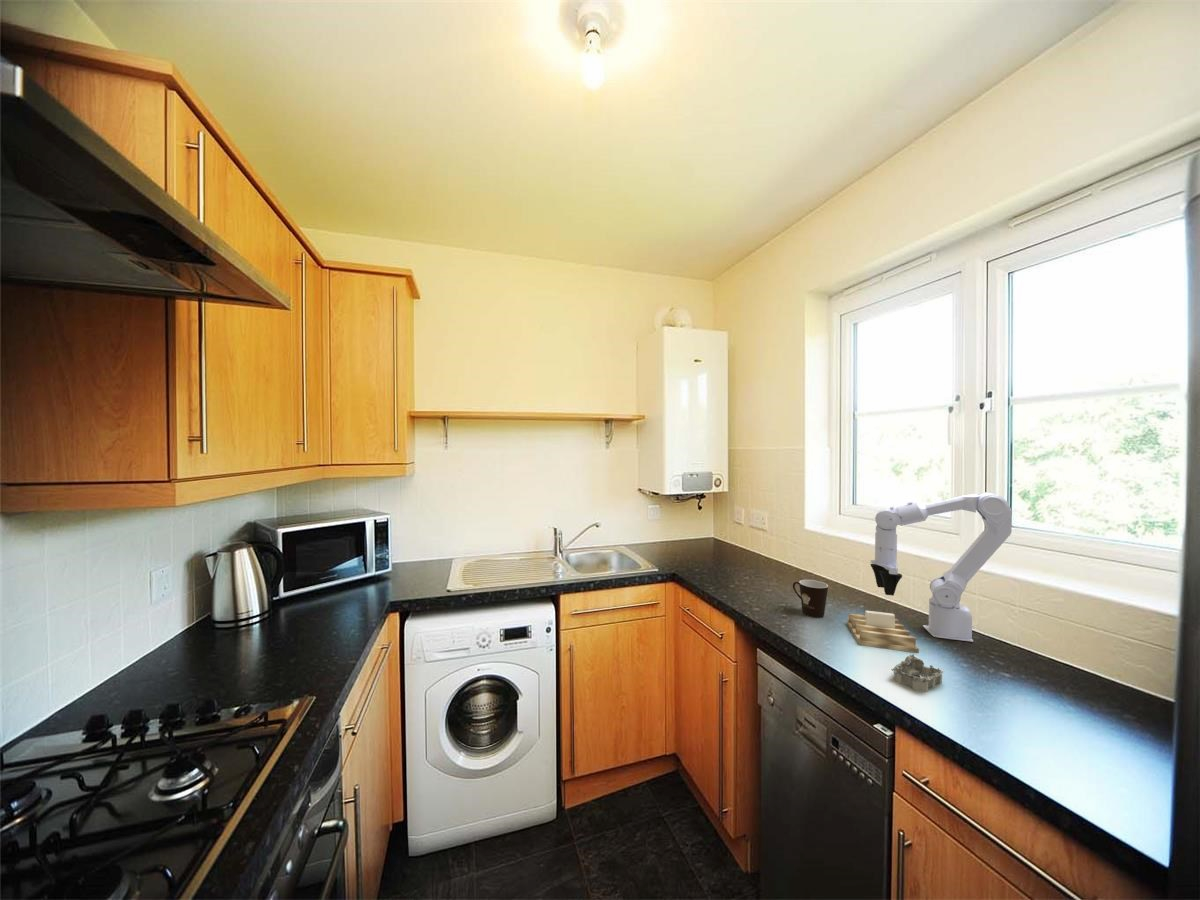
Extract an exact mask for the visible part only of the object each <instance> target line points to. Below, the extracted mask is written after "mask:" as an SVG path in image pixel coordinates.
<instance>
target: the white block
mask: <svg viewBox="0 0 1200 900" xmlns="http://www.w3.org/2000/svg"><path fill="white" fill-rule="evenodd" d="M864 612H865V614H864V615H865V625H868V626H876V627H884V628H892V629H895V619H896V615H895V614H894V613H892V612H891V613H890V612H882V611H873V610H872V611H871V610H865V611H864Z"/></svg>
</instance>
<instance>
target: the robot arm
mask: <svg viewBox="0 0 1200 900" xmlns="http://www.w3.org/2000/svg"><path fill="white" fill-rule="evenodd" d="M961 510H963V511H967V512H970V513H971V512H972V513H978V514H979V515H980V516H981V518H982V521H983V525H984V527H985V528H984V530H983V531H982V532H981V533H980V534H979V535H978V537H977V538H975V540H974V541H973V542H972V543H971V544H970V545H969V547H968V548H967V549H966V550H965V552H963V554H962V555H961V556H960V557H959V558H958V559H957V560H956V562H955V563H954V564H953V565H952V566H951V567H950V568H949V569H948V570H947V571H945V572H944V573H943V574H941V576H940V577H937V578H934V579H933V580H931V582H930V583H929V589H930V591H931V594H932V596H931V597H930V598H929V599H928V625H927V624H923V625H922V627H923V628H924V629H925V630H926V631H927V632H928V634H930V635H931V636H933V637H934V638H941V639H947V640H956V641H965V642H971V643H973V642H974V639H973V616H972V612H971V610H970V608H968V606H965V605H961V604H960V602H961V598H962V594H963V593H964V591H966V588H967V585H968V583H969V582H970V581H971V580H972V578H973V577H974V576H976V574H977V573H978V572H979V571H980V569H981V568H982V567H983V566H984V565H985V564H986V563H987V561H988V560H989V559H990V558H991V557H992V556H993V555H994V554H995V553H996V551H998V549H999V548H1000V547H1001V546H1002V545H1003V544H1004V543H1005V541H1007V539H1008V538H1009V537H1010V536H1011V534H1012V514H1013V510H1012V509H1011V506H1010V504H1009V502H1008V501H1007V500H1006V499H1005V498H1004V497H1003V496H1000V495H997V494H995V493H992V492H986V491H985V492H984V491H983V492H980V493H978V494H977V493H972V494H965V495H960V496H955V497H952V498H949V499H948V498H947V499H943V500H940V501H936V502H932V503H928V504H921V503H919V502H914V503H913V501H908V502H907V504H905V505H900V506H896V507H894V506H890V507H889V509H885V508H884V509H881V510H879V511H878V512H877V513H876V515H875V517H874V518H875V521H874V522H875V523H876V526H875V533H874V534H875V535H874V536H875V537H874V559H870V567H871V569H872V571H873V574H874V578H875V582H876V586H877V588H882V589H883V590H884V594H885V595H886V596H895V593H896V589H897V585H898V583H899V582H900V580H901V579H902V578H903V574H901V573H898V561H897V560H898V534H897V527H898V526H907V525H913V524H917V523H922V522H925V521H926V520H927V519H928V517H929V516H933V515H938V514H943V513H949V512H950V513H951V512H956V511H961Z"/></svg>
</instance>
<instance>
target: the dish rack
mask: <svg viewBox="0 0 1200 900" xmlns="http://www.w3.org/2000/svg"><path fill="white" fill-rule="evenodd" d="M845 624H846V626H847V627H848V628H849V630H850V633H851V634H852V635H853V637H854V638H855V640H856V642H857V643H858V645H861V646H866V647H874V648H880V649H881V648H882V649H888V650H894V651H895V650H896V651H902V652H903V651H904V652H909V653H918V654H919V652H920V649H919V647H918V646H917V638H916V637H915V636H912V635H911V632H910V631H909V630H908V629H905V625H904V624H901V623H900V620H899V619H898V618H895V629H892V628H884V627H876V626H868V625H865V614H857V613H848V620H845Z"/></svg>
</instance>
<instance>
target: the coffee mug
mask: <svg viewBox="0 0 1200 900" xmlns="http://www.w3.org/2000/svg"><path fill="white" fill-rule="evenodd" d="M797 584H798V585H799V592H797V589H796V585H797ZM792 589H793V590H794V593H795V594H796V596H797V597H798V598H799V599H800V604H801V611H802V615H804V616H806V617H809V618H814V619H817V618H818V619H821V618H824V617H825V611H826V604H827V600H828V599H827V597H828V591H829V585H828V584H827V583H826V582H823V581H819V580H815V579H814V580H813V579H802V580H801V579H800V580H799V581H794V582H793V583H792ZM799 593H800V594H799Z"/></svg>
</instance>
